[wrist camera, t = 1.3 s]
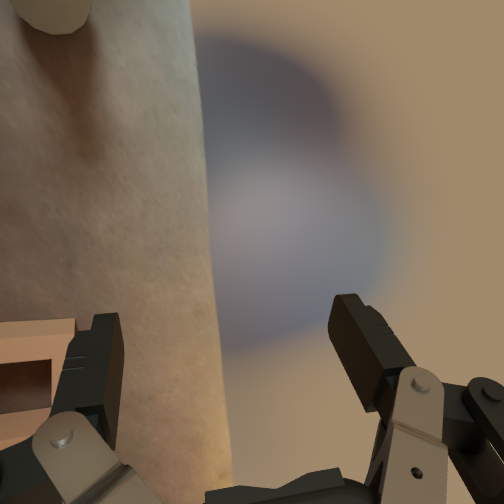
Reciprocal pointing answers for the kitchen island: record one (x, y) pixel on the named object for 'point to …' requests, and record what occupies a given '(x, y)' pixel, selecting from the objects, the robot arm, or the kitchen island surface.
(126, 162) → the kitchen island surface
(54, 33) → the salt shaker
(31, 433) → the frame
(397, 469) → the robot arm
